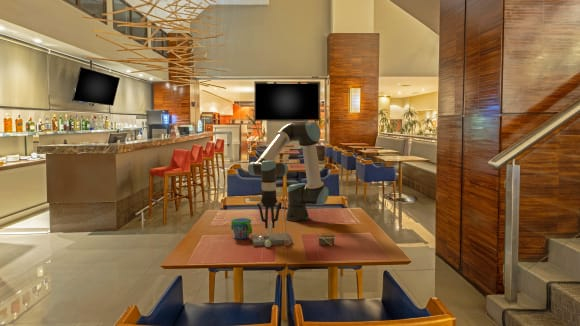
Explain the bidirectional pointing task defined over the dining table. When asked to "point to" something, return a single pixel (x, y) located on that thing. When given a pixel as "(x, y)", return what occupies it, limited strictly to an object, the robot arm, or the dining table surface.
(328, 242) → the platform
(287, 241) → the cork ball
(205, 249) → the dining table surface
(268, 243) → the pale green ball
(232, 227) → the snack cup
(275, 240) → the plate
